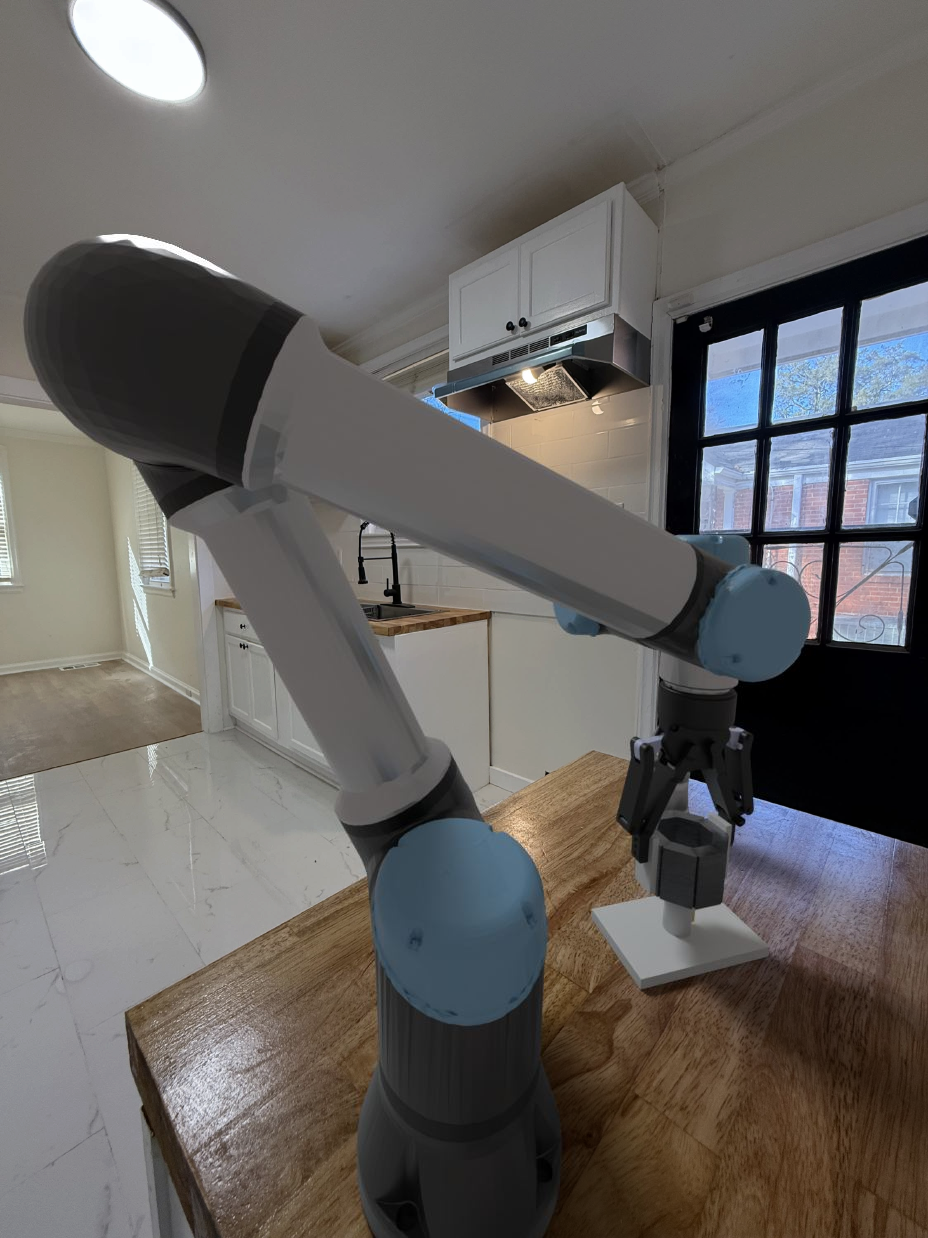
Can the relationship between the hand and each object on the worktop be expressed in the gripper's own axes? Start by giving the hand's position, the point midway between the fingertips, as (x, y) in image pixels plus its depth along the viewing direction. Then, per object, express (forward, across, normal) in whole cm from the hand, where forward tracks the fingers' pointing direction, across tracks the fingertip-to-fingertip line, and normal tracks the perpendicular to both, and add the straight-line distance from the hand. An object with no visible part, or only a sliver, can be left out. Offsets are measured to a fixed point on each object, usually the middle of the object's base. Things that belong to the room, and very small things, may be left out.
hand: (680, 878), depth 57 cm
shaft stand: (+7, 0, 0) cm, 7 cm away
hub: (0, 0, 0) cm, 0 cm away
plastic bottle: (+8, +12, +18) cm, 23 cm away
